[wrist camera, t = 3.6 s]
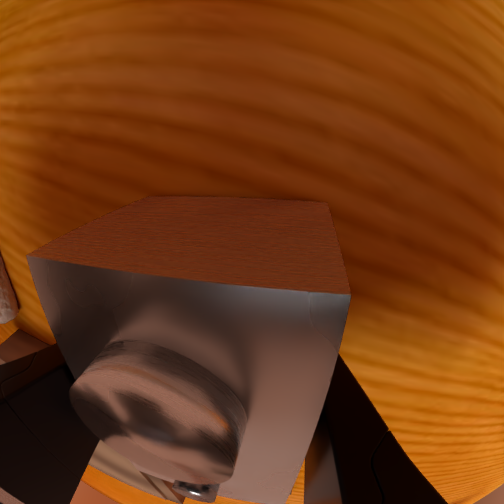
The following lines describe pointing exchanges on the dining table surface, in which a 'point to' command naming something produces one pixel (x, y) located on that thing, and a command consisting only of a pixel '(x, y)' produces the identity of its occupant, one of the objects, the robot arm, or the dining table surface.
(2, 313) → the washcloth
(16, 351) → the tray
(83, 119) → the dining table surface
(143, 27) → the dining table surface
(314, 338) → the housing
